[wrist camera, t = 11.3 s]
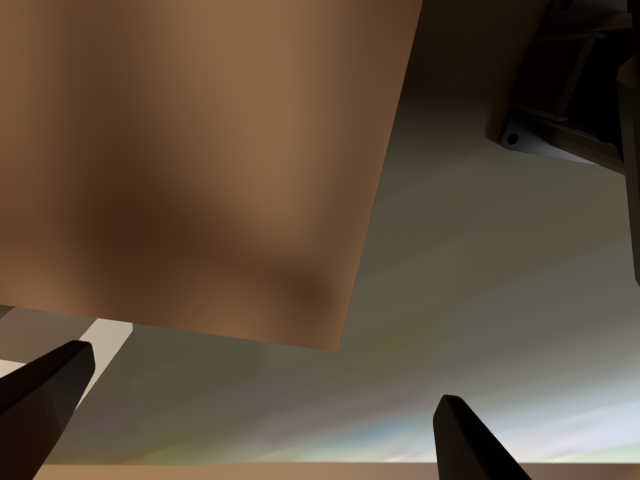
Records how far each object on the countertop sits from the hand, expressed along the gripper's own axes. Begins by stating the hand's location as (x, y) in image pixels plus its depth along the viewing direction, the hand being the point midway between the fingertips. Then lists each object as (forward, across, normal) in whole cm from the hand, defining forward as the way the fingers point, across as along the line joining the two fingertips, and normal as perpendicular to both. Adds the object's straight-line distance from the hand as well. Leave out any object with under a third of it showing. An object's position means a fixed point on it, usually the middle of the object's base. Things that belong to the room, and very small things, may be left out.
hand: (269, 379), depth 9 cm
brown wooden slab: (+12, +5, -4) cm, 13 cm away
